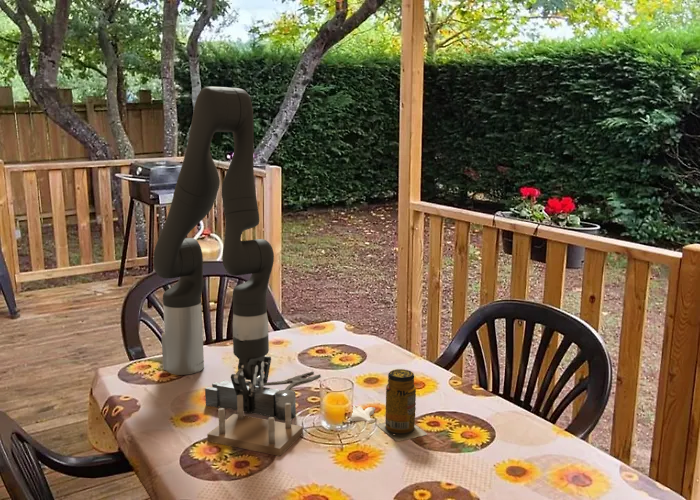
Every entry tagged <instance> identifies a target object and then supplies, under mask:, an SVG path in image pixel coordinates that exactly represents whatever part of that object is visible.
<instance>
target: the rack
mask: <svg viewBox="0 0 700 500" xmlns="http://www.w3.org/2000/svg"><path fill="white" fill-rule="evenodd" d="M225 409H226V408H222V407H218V409H217V410H218V425H217V426H215V428H213V429H212V430H211V431H209V432H208V433H207V435H206V436H207V437H206V438H207V441H208V442H211V443H216V444H219V445H225V446H228V447H229V446H230V447H234V448H235V447H236V448H239V449H244V450H249V451H252V452H253V451H255V452H259V453H265V454H270V455H272V456H278V457H280V456H282V455H283V454H284V453H285V452H286V451H287V450H288V449H289V448H290V447H291V446H292V445H293V444H294V443H295V442H296V441H297V440H298V439H299V438H300V437H301V436H302V435H303V434H304V426H303V425H302V426H301V425H296V424H292V419H291V403H286V404H285V420H284V422H280V421H277V420H276V421H275V417H271V416H268V418H267V419H264V418H259V417H254V416H249V415H244V412H243V395H237V410H236V411H237V413H233V414H231V415H230V416H229V417H228V418H227V419H226V412H225Z"/></svg>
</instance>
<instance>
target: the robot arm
mask: <svg viewBox="0 0 700 500" xmlns="http://www.w3.org/2000/svg"><path fill="white" fill-rule="evenodd" d="M191 117H192V119H191V124H190V130H189V133H188V134H189V135H188V140H187V141H188V142H187V145H186V149H185V153H184V156H183V159H182V161H183V162H182V164H181V168H180V171H179V173H178V177H177V179H176V180H177V181H176V183H175V187H174V192H173V195H172V200H171V203H170V208H169V210H168V213H167V215H166V216H167V217H166V220H165V223H164V225H163V227H162V229H161V231H160V235H159V236H158V239H157V241H156V244H155V246H154V250H153V258H152V264H153V269H154V272H155V273H156V275H157V276H158V277H159V278H162V279H166V280H167V279H176V278H179V279H178V281H177V282H176V283H174V285H173V286H171V287H170V288H168V289H166V290H165V291H164V292H163V294H162V305H163V306H162V309H163V325H164V332H162V333H161V336H160V337H161V351H162V352H161V354H162V369H163V371H167V373H170V374H171V375H175V376H176V375H178V376H180V375H181V376H183V375H185V376H187V375H192V374H196V373H199V372H200V371H202V370H203V369H204V368H205V359H204V337H203V336H204V334H203V313H202V294H203V290H204V281H203V280H204V258H203V257H204V256H203V251H202V250H203V249H202V247H201V244H200V243H199V242H198V240H197V239H196V238H193V237H187V236H188V234H189V233H190V232H191V231H193V229H195V227H196V226H198V224H199V223H200V222H201V221H202V220H204V219H205V218H206V217H207V215H208V214H209V213H210V212H211V210H212V208H213V207H214V205H215V201H216V198H217V194H218V191H219V189H220V182H221V180H220V174H219V170H218V169H217V165H216V164H215V162H214V159H213V157H212V153H211V145H212V140H213V136H214V135H215V133H217V132H219V133H221V132H222V133H232V135H233V144H234V145H233V147H234V149H233V155H232V157H231V161H230V164H229V166H228V168H227V170H226V173H225V176H224V179H223V181H222V186H221V199H222V205H223V206H222V207H223V213H224V220H225V229H224V241H223V248H222V255H221V256H222V259H221V260H222V265H223V267H224V270H225V271H226V272H227V273H228V274H229V275H230V276H231V275H232V276H234V277H235V276H236V277H237V276H244V275H251V276H250V278H249V279H248V280H247V281H245V282H242V283H240V284H238V285H236V286H235V287H234V288H233V289H232V311H233V312H232V344H233V345H232V350H233V351H232V352H233V355H234V356H235V357H236V358H237V359H238V364H237V371H236V373H231V375H230V382H232V384H233V387H234V389H235V392H236V395H243V410H244V411H245V413H249V414H253V413H252V412H253V411H254V397H253V391H254V386H260V387H265V385H264V383H265V384H266V383H267V382H268V380H269V374H270V367H271V363H272V357H271V356H269V355H268V354H269V351H270V347H269V346H270V343H269V341H270V340H269V318H268V313H267V311H268V309H267V308H268V307H267V293H268V292H267V291H268V286H269V282H270V277H271V274H272V270H273V267H274V262H275V254H274V249H273V247H272V245H271V244H270V242H269V241H268V240H267V239H264V238H257V239H248V240H247V239H245V240H241V239H242V235H243V233H244V232H245V231H247V230H250V229H253V228H256V227H257V226H258V225H259V224H260V213H259V207H258V206H259V205H258V199H257V194H256V188H255V187H256V185H255V177H254V176H255V175H254V158H255V157H254V156H255V155H254V154H255V152H254V150H255V147H254V145H255V143H254V128H255V127H254V109H253V103H252V99H251V96H250V95H249V93H248V92H247V91H246V90H245V89H242V88H239V87H238V88H237V87H227V86H204V87H203V88H201V89H200V91H199V92H198V95H197V96H196V99H195V104H194V108H193V112H192V116H191ZM247 386H249V391H248V388H247Z"/></svg>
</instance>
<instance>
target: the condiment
mask: <svg viewBox="0 0 700 500" xmlns="http://www.w3.org/2000/svg"><path fill="white" fill-rule="evenodd" d="M416 397H417V388H416V385H415V374H414V372H412V371H411V370H408V369H405V368H404V369H403V368H397V369H393V370H391V371H389V372H388V374H387V384H386V387H385V419H384V420H385V422H380V423H376V426H377V427H379V428H380V429H381V430H382V431H384V432H385V433H386V434H388V436H389V437H391V438H392V439H394V441H396V442H399V441H406V440H411V439H416V438H417V437H423V436H427V435H428V433H427V432H426V431H424V430H423V429H421V427H419V426H418V425H416V409H417V407H416V400H417V399H416Z"/></svg>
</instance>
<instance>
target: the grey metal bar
mask: <svg viewBox="0 0 700 500" xmlns="http://www.w3.org/2000/svg"><path fill="white" fill-rule="evenodd" d="M247 388H248V391H249V386H247ZM204 392H205V393H204V394H205V396H204V397H205V398H204V399H205V406H206V407H211V408H216V409H217V408H218V409H219V408H224V409H227V410H233V411H238V410H237V395H236V392H235V389H234V387H233V384H232V381H231V380H230V381H229V380H223V381H221V382H216V381H214V382H213V383H212V384H211V386H207V387H205V388H204ZM253 397H254V411H253V412H252V413H251V414H255V415H259V416H267V417H274V418H276V419H277V420H279V421H285V404H286V403H291V420H293V419H295V418H296V417H297V409H296V408H297V407H296V406H297V405H296V403H297V402H296V401H297V400H296V391H295V390H292V389H290V390H285V389H276V388H271V387H265V386H264V387H260V386H254V391H253ZM244 412H245V411H244V410H243V413H244ZM245 413H246V412H245Z"/></svg>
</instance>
